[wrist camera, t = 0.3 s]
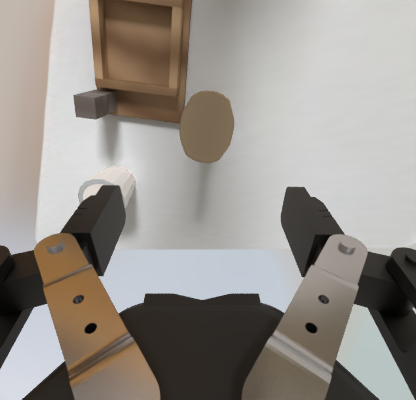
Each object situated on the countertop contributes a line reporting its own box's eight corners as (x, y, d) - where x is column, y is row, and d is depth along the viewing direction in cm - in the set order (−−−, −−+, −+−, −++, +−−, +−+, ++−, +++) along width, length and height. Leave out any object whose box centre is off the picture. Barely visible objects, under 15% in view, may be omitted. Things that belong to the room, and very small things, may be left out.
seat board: (89, -52, 30) (48, -86, 23) (194, -38, 30) (185, -67, 23) (101, 111, 38) (74, 123, 31) (183, 122, 39) (174, 136, 32)
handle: (234, 82, 36) (239, 97, 23) (225, 129, 39) (225, 166, 26) (198, 76, 36) (184, 87, 22) (192, 124, 39) (176, 158, 26)
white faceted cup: (92, 164, 43) (70, 182, 36) (132, 158, 42) (116, 176, 36) (106, 201, 46) (87, 223, 40) (143, 196, 45) (131, 218, 39)
